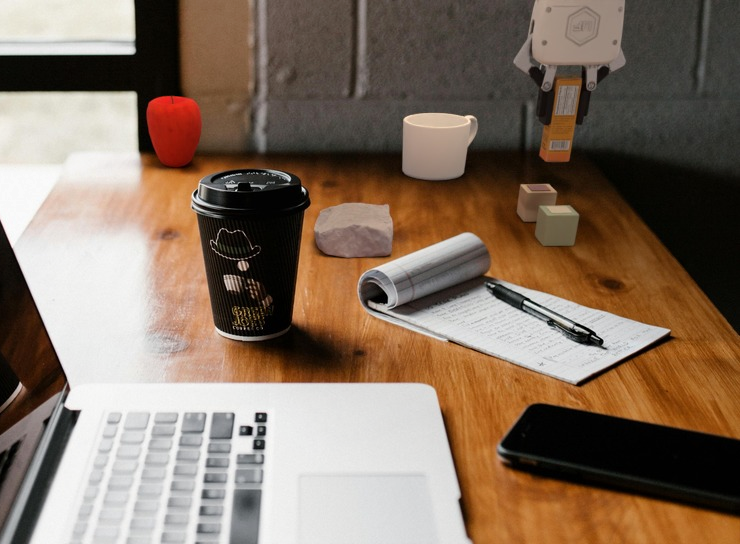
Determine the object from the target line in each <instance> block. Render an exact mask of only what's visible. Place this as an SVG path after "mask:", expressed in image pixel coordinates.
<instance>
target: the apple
mask: <svg viewBox="0 0 740 544" xmlns="http://www.w3.org/2000/svg"><path fill="white" fill-rule="evenodd" d="M147 105H148V106H147V108H146V121H147V127H148V134H149V136H150V140H151V143H152V147H153V149H154V151H155V154H156V156H157V158H158V159H159V161H160V163H161V164H162V165H164V166H166V167H169V168H181V167H184V166H186V165H187V164H189V163H190V162H191V161H192V160H193V157H194V156H195V153H196V150H197V147H198V146H199V144H200V140H201V136H202V126H203V123H202V115H201V114H202V113H201V109H200V107H199V105H198V103H197V102H196V101H195V100H194V99H192V98H190V97H184V96H175V95H163V96H159V97H156V98H154V99H152V100H151V101H149V102H148V104H147Z"/></svg>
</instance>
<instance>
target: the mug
mask: <svg viewBox="0 0 740 544" xmlns="http://www.w3.org/2000/svg"><path fill="white" fill-rule="evenodd" d="M402 121H403V122H402V168H401V170H402V171H401V172H402V173H403V174H404V175H405V176H407V177H410V178H413V179H417V180H424V181H425V180H426V181H447V180H449V181H450V180H453V179H457V178H460V177H461V176H462V175H464V173H465V167H466V160H467V153H468V148H469V146H470V145H471V144H472V142H473V140H474V139H475V137H476V135H477V133H478V126H479V125H478V119H477V118H476V117H475V116H474V115H464V116H463V115H458V114H453V113H444V112H443V113H441V112H427V113H426V112H425V113H414V114H410V115H407V116H405V117H404V118H403V120H402Z"/></svg>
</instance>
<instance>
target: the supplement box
mask: <svg viewBox="0 0 740 544" xmlns="http://www.w3.org/2000/svg"><path fill="white" fill-rule="evenodd" d="M581 84H582V78H580V76H578V75H577V74H555V77H554V81H553V84H552V85H553V90H552V91H554V92H555V99H554V106H553V112H552V119H551V124H549V125H543V129H542V136H541V143H540V149H539V157H540V158H541V159H542V160H544V162H547V163H567V162H570V159H571V153H572V147H573V142H574V135H575V128H576V124H575V122H576V116H577V110H578V103H579V97H580V90H581Z"/></svg>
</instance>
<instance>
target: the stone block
mask: <svg viewBox="0 0 740 544" xmlns="http://www.w3.org/2000/svg"><path fill="white" fill-rule="evenodd" d="M313 234H314V239H315V242H316V245H317V248H318V249H319V250H320V251H321V252H322V253H324V254H325V255H329V256H335V257H342V258H346V259H347V258H348V259H349V258H350V259H351V258H363V257H364V258H365V257H370V258H371V257H389V256H390V255H391V254H392V251H393V241H394V240H393V239H394V222H393V218H392V216H391V214H390V205H389V204H388V203H387V204H386V203H385V204H380V205H379V204H374V203H373V204H372V203H364V202H344V203H341V204H338V205H336V206H335V205H333V206H332V205H331V206H329V207H326V208H324V209H322V210H320V211H319V213H318V216H317V218H316V220H315V224H314V228H313Z"/></svg>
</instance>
